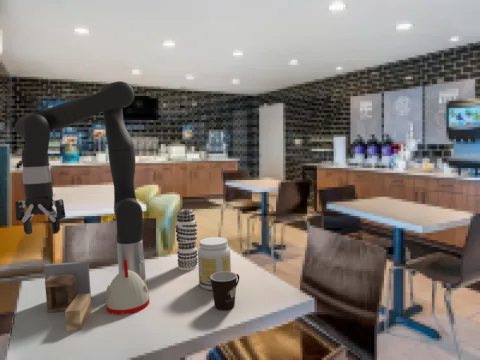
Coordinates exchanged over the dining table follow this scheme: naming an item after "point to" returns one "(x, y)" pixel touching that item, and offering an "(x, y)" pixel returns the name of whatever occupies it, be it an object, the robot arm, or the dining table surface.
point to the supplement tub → (212, 259)
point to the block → (60, 292)
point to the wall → (71, 268)
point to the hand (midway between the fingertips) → (42, 233)
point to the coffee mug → (224, 289)
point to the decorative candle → (186, 239)
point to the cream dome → (126, 293)
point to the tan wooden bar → (78, 312)
